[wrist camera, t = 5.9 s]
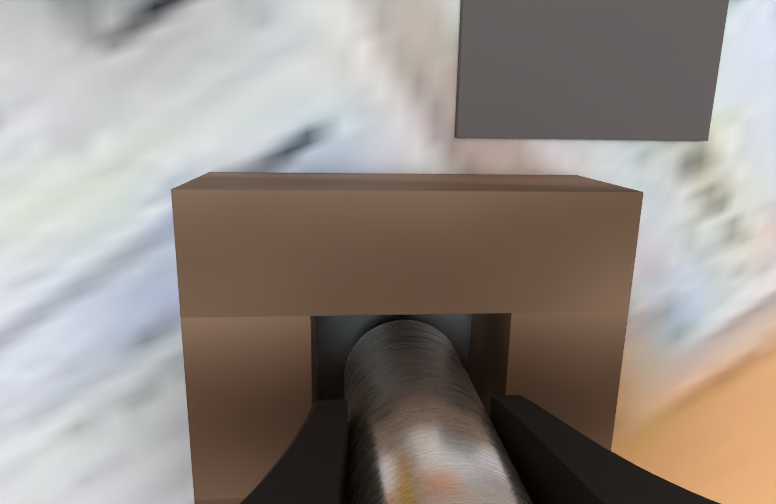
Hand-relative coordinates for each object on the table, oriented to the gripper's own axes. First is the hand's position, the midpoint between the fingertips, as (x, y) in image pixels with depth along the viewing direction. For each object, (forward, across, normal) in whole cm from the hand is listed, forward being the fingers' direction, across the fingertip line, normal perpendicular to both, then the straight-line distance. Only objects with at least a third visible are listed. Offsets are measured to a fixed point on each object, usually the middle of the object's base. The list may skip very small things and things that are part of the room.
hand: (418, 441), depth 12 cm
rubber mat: (+5, -5, -10) cm, 12 cm away
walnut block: (+5, 0, 0) cm, 5 cm away
